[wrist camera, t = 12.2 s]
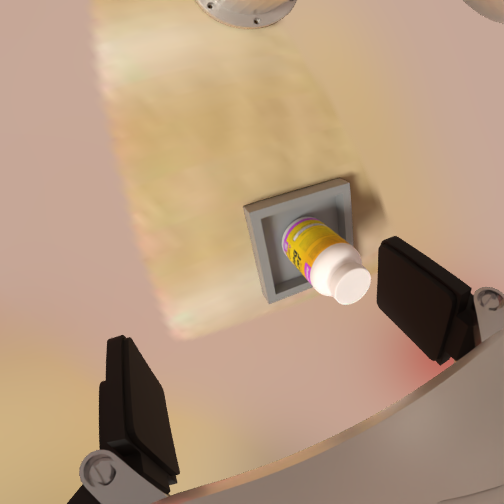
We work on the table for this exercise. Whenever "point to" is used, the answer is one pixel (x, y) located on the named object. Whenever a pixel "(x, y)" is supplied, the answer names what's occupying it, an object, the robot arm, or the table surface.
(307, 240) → the supplement bottle
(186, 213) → the table surface
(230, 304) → the table surface
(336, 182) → the tray
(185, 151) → the table surface
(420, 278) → the robot arm
